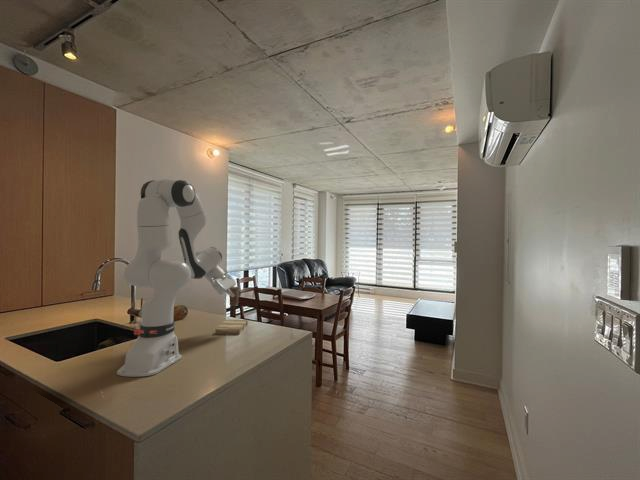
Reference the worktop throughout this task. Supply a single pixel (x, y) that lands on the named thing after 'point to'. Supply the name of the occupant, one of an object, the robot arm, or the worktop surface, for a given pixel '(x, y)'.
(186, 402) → the worktop surface
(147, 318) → the robot arm
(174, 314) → the brown flat oval piece
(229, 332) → the board
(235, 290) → the block
